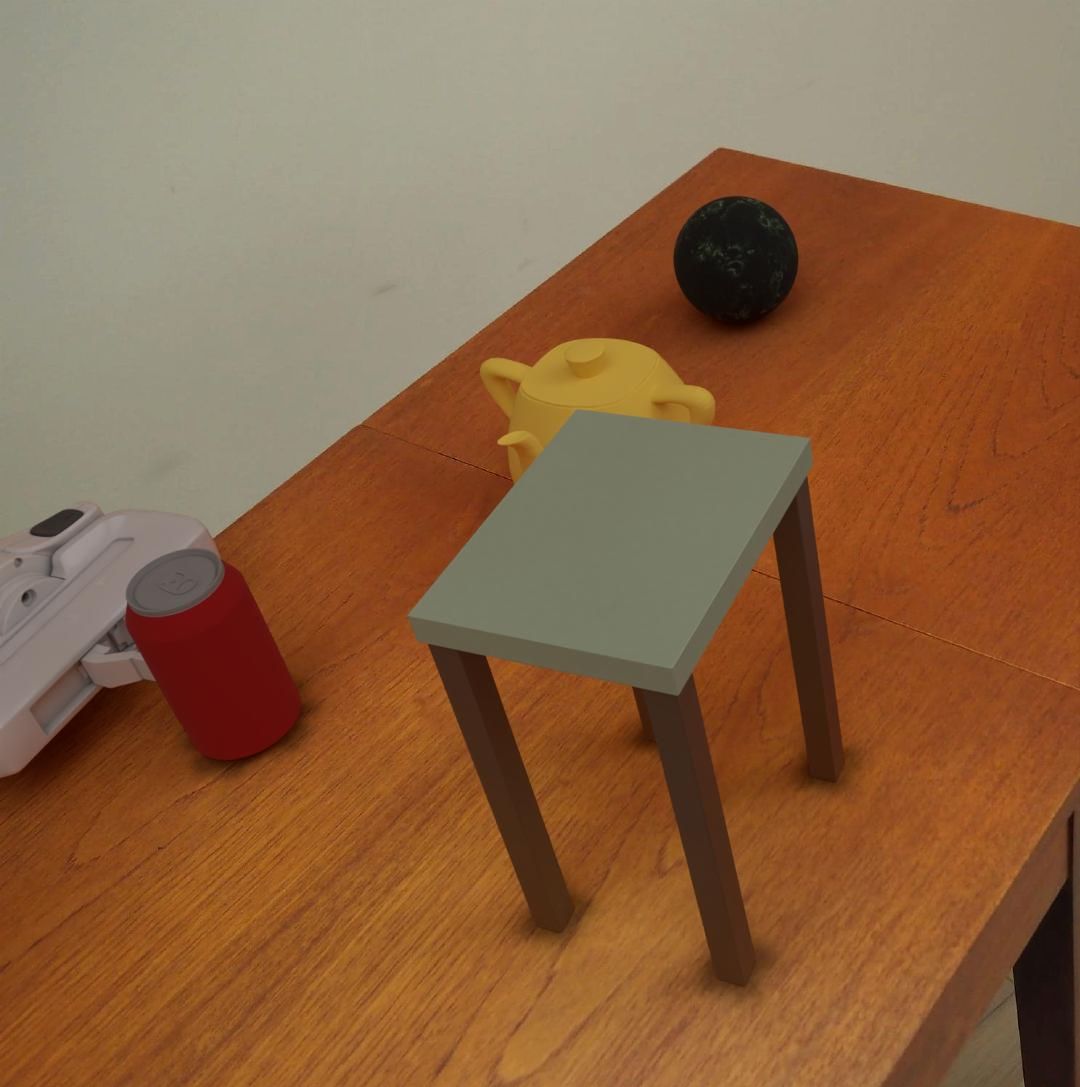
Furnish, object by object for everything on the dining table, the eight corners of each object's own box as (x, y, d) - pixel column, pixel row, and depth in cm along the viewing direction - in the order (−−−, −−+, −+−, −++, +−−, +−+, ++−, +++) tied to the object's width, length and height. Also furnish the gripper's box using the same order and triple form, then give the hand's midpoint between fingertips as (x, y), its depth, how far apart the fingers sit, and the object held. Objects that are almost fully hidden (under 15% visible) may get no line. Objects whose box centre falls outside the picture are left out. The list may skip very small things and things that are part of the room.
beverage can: (255, 674, 87) (182, 528, 80) (329, 707, 84) (259, 558, 76) (172, 746, 83) (87, 599, 76) (246, 784, 80) (164, 634, 72)
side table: (748, 993, 65) (671, 668, 51) (528, 929, 69) (406, 615, 56) (851, 759, 75) (810, 437, 61) (654, 717, 79) (576, 408, 66)
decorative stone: (659, 328, 114) (637, 218, 107) (736, 274, 119) (719, 165, 113) (753, 358, 108) (735, 243, 102) (828, 299, 113) (816, 187, 107)
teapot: (491, 478, 100) (448, 338, 93) (673, 417, 103) (645, 276, 96) (541, 587, 90) (496, 438, 82) (742, 514, 93) (716, 365, 85)
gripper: (-152, 700, 78) (24, 748, 73) (97, 484, 92) (260, 511, 86) (-94, 774, 82) (76, 825, 76) (136, 556, 96) (294, 586, 90)
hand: (176, 656), depth 82 cm, fingers closed, pressing on beverage can
